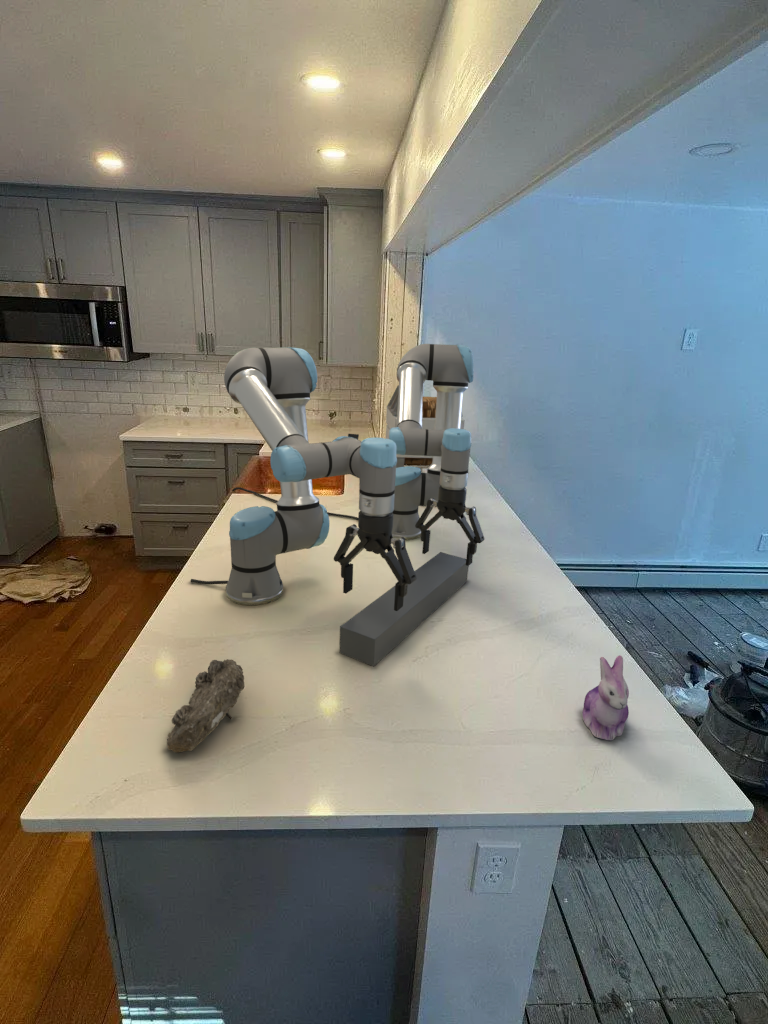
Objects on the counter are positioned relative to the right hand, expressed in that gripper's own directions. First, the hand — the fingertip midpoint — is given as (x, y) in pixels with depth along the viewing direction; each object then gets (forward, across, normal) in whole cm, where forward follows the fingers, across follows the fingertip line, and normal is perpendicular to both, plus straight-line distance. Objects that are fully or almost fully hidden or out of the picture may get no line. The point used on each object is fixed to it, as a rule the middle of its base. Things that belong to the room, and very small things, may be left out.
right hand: (446, 558), depth 161 cm
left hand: (-3, 0, -39) cm, 39 cm away
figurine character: (+5, -114, +119) cm, 165 cm away
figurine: (+10, +52, -36) cm, 64 cm away
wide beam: (+9, 0, -19) cm, 21 cm away
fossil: (+10, -12, -76) cm, 78 cm away
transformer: (+6, -62, +101) cm, 118 cm away
